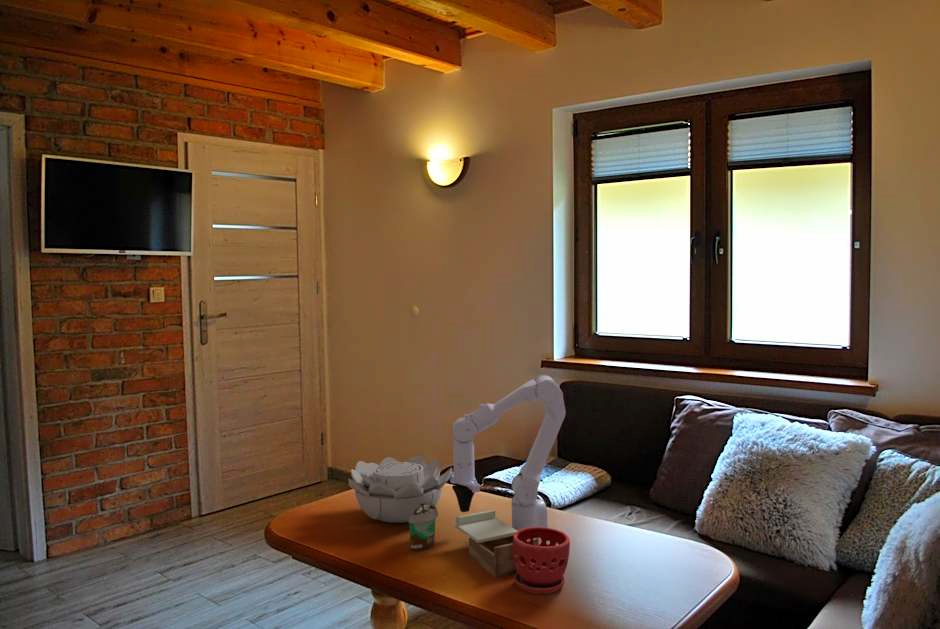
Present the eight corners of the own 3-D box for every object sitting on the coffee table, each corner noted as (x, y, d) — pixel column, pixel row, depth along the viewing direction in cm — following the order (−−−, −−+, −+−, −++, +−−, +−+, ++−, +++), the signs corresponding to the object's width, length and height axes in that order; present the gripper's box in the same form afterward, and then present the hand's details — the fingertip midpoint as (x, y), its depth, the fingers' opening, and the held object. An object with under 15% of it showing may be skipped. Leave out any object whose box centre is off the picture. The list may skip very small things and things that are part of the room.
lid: (494, 519, 201) (494, 509, 201) (518, 534, 190) (518, 523, 190) (455, 527, 196) (455, 516, 196) (478, 543, 185) (477, 532, 184)
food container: (432, 554, 191) (431, 516, 191) (409, 553, 193) (408, 515, 192) (443, 537, 203) (442, 501, 203) (421, 535, 205) (421, 500, 204)
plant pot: (529, 603, 163) (529, 550, 163) (503, 580, 176) (503, 530, 175) (580, 591, 169) (580, 540, 168) (551, 570, 181) (551, 522, 180)
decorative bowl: (393, 495, 241) (392, 449, 240) (467, 512, 223) (466, 463, 222) (323, 522, 216) (322, 472, 215) (401, 544, 199) (399, 489, 198)
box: (509, 548, 195) (509, 521, 194) (538, 567, 182) (538, 538, 182) (469, 557, 189) (468, 529, 189) (496, 577, 177) (495, 548, 176)
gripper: (439, 458, 208) (440, 505, 209) (462, 471, 195) (463, 521, 196) (462, 455, 211) (462, 501, 212) (486, 467, 198) (487, 517, 199)
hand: (464, 511), depth 204 cm, fingers closed
